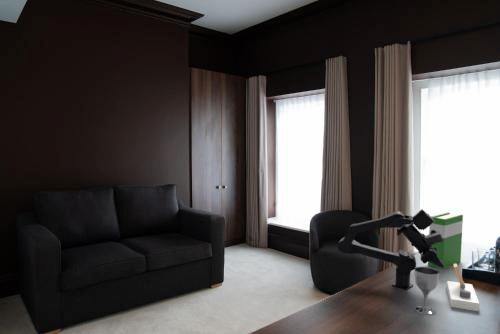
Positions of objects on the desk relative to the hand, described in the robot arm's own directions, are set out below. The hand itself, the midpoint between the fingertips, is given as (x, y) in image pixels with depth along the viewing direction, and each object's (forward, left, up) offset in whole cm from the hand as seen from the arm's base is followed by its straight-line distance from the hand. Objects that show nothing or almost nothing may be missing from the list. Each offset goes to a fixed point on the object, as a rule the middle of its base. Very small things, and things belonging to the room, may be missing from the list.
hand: (443, 266), depth 152 cm
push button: (-5, -10, -7) cm, 13 cm away
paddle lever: (+3, -6, -6) cm, 9 cm away
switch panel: (-1, -8, -10) cm, 13 cm away
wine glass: (-22, -2, -10) cm, 25 cm away
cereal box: (+37, +13, -11) cm, 40 cm away
